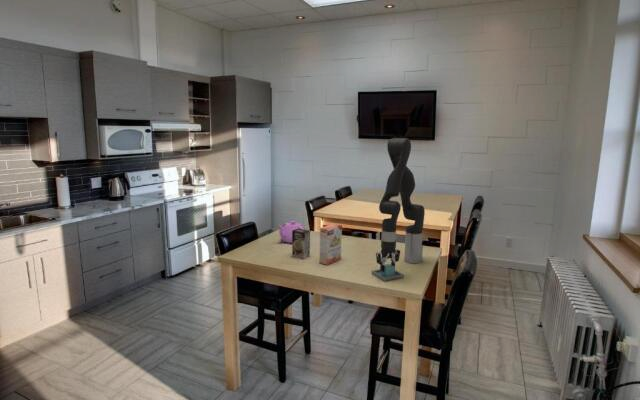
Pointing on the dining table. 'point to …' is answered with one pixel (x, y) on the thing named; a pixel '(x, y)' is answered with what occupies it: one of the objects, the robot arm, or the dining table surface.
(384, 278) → the tray
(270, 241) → the dining table surface
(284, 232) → the teapot
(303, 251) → the coffee box
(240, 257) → the dining table surface
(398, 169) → the robot arm
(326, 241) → the cracker box
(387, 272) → the teal cube
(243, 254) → the dining table surface
